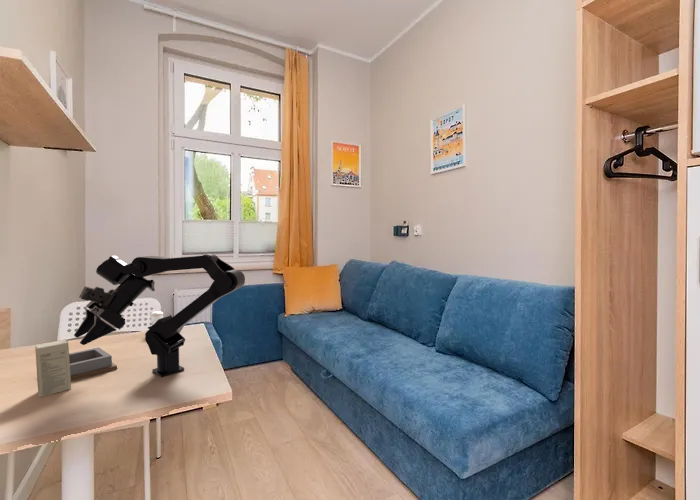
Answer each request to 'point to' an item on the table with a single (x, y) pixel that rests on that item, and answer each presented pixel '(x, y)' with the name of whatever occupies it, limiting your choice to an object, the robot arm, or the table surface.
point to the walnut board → (93, 372)
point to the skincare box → (53, 367)
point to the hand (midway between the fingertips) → (78, 340)
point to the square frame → (89, 361)
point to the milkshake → (156, 316)
